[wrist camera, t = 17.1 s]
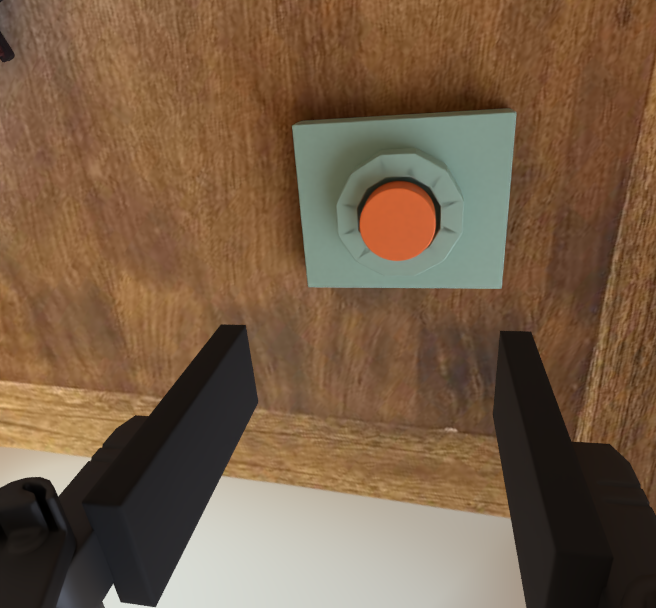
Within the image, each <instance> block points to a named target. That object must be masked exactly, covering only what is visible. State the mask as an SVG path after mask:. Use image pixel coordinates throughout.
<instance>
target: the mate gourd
mask: <svg viewBox="0 0 656 608" xmlns="http://www.w3.org/2000/svg"><path fill="white" fill-rule="evenodd" d="M1 1H2V0H0V2H1ZM14 56H15V55H14V53H13V51H12V50H11V48H10V46H9V45H8V43H7V41H6V40H5V38H4V37H3V35H2V34H1V32H0V59H1V61H2V62H6V61H10V60H11V59H13V58H14Z"/></svg>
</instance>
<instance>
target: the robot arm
mask: <svg viewBox="0 0 656 608" xmlns="http://www.w3.org/2000/svg"><path fill="white" fill-rule="evenodd" d="M257 404H258V397H257V391H256V385H255V379H254V373H253V367H252V361H251V355H250V348H249V342H248V336H247V330H246V325H220V326H219V328H218V329H217V330H216V332H215V333H214V334H213V335H212V337H211V338H210V339H209V340H208V342H207V343H206V344H205V345H204V347H203V348H202V349H201V351H200V352H199V353H198V354H197V356H196V357H195V358H194V359H193V361H192V362H191V363H190V365H189V366H188V367H187V368H186V370H185V371H184V372H183V373H182V375H181V376H180V377H179V379H178V380H177V381H176V382H175V384H174V385H173V386H172V387H171V389H170V390H169V391H168V393H167V394H166V395H165V396H164V398H163V399H162V400H161V401H160V403H159V404H158V405H157V407H156V408H155V409H154V410H153V412H152V413H151V414H150V415H149V416H136V415H135V416H134V417H132V418H131V419H129V420H128V421H127V422H125V423H124V424H122V425H121V426H119V427H118V428H116V429H115V431H114V432H113V433H112V434H111V435H110V436H109V438H108V439H107V440H106V441H105V442H104V444H103V447H102V448H99V449H98V451H97V452H96V453H95V454H94V455H93V456H92V459H91V461H88V462H87V464H86V465H85V466H84V467H83V468H82V469H81V471H80V472H79V473H78V474H77V476H75V478H74V479H73V480H72V481H71V482H70V484H69V485H68V486H67V487H66V488H65V489H64V491H63V492H62V493H61V494H60V495H59V497H58V495H57V493H56V490H55V488H54V486H53V485H52V483H51V482H50V480H47V479H44V478H41V477H31V478H24V479H20V480H17V481H13V482H11V483H9V484H7V485H5V486H3V487H1V488H0V608H105V607H104V605H103V602H102V601H103V599H104V598H105V596H106V594H107V593H108V591H109V589H110V588H111V586H112V585H113V584H114V586H115V589H116V591H117V594H118V596H119V599H120V601H121V602H123V603H130V604H138V605H144V606H151V607H156V605H157V603H158V601H159V599H160V597H161V595H162V593H163V591H164V589H165V587H166V585H167V583H168V581H169V579H170V577H171V575H172V573H173V571H174V569H175V568H176V565H177V564H178V561H179V559H180V558H181V555H182V554H183V551H184V549H185V548H186V545H187V544H188V541H189V540H190V538H191V536H192V533H193V531H194V530H195V528H196V526H197V524H198V522H199V519H200V517H201V516H202V514H203V511H204V510H205V508H206V505H207V503H208V502H209V499H210V497H211V496H212V494H213V492H214V490H215V487H216V486H217V484H218V482H219V479H220V478H221V476H222V474H223V472H224V470H225V468H226V466H227V464H228V462H229V460H230V458H231V456H232V454H233V452H234V450H235V448H236V446H237V444H238V442H239V440H240V438H241V436H242V434H243V432H244V430H245V428H246V426H247V424H248V422H249V420H250V418H251V416H252V414H253V412H254V410H255V408H256V406H257ZM493 418H494V424H495V430H496V436H497V441H498V447H499V453H500V459H501V464H502V470H503V476H504V482H505V487H506V493H507V499H508V504H509V510H510V516H511V521H512V527H513V533H514V539H515V545H516V550H517V555H518V562H519V568H520V573H521V579H522V584H523V590H524V596H525V602H526V607H527V608H656V515H655V513H654V511H653V509H652V507H650V506H649V501H648V499H647V497H646V495H645V493H644V491H643V489H641V487H640V483H639V481H638V479H637V477H636V475H635V472H634V470H633V468H632V466H631V464H630V463H629V462H628V461H627V460H626V459H625V458H624V457H623V456H622V455H621V454H620V453H619V452H618V451H617V450H615V449H614V448H613V447H612V446H611V445H610V444H601V443H585V442H571V439H570V437H569V434H568V431H567V429H566V426H565V423H564V420H563V418H562V415H561V412H560V409H559V407H558V404H557V401H556V399H555V396H554V393H553V390H552V388H551V385H550V382H549V379H548V377H547V374H546V371H545V369H544V366H543V363H542V360H541V358H540V355H539V352H538V349H537V347H536V344H535V341H534V339H533V336H532V333H531V332H523V331H500V339H499V350H498V362H497V373H496V385H495V396H494V408H493Z"/></svg>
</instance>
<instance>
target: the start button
mask: <svg viewBox="0 0 656 608" xmlns="http://www.w3.org/2000/svg"><path fill="white" fill-rule="evenodd" d="M359 227H360V233H361V236H362V239H363V241H364V243H365V244H366V246H367V247H368V248H369V249H370V250H371V251H372V252H373V253H374V254H376V255H377V256H379V257H381V258H384V259H387V260H391V261H403V260H408V259H411V258H414V257H416V256H417V255H419V254H421V253H422V252H423V251H424V250H425V249H426V248H427V247H428V246H429V244H430V243H431V241H432V239H433V237H434V234H435V229H436V215H435V207H434V204H433V202H432V200H431V198H430V196H429V195H428V194H427V193H426V191H425V190H423V189H422V188H421V187H419V186H418V185H416V184H414V183H411V182H407V181H392V182H388V183H386V184H383V185H381V186H380V187H378V188H377V189H376V190H374V191H373V192H372V194H371V195H370V196H369V198H368V199H367V201H366V203H365V206H364V208H363V210H362V212H361V216H360V221H359Z"/></svg>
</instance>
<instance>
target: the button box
mask: <svg viewBox="0 0 656 608" xmlns="http://www.w3.org/2000/svg"><path fill="white" fill-rule="evenodd" d="M515 124H516V112H515V111H514V110H512V109H510V108H503V109H487V110H470V111H454V112H437V113H421V114H404V115H388V116H371V117H355V118H338V119H322V120H305V121H300V122H298V123H296V124H294V125H292V132H293V142H294V152H295V162H296V172H297V182H298V192H299V202H300V212H301V222H302V232H303V242H304V252H305V262H306V272H307V283H308V287H357V288H495V289H501V288H502V278H503V266H504V254H505V242H506V230H507V218H508V207H509V195H510V183H511V171H512V159H513V147H514V136H515ZM392 181H407V182H411V183H414V184H416V185H418V186H419V187H421V188H422V189H423V190H425V191H426V193H427V194H428V195H429V196H430V198H431V200H432V202H433V204H434V207H435V215H436V229H435V234H434V237H433V239H432V241H431V243H430V244H429V246H428V247H427V248H426V249H425V250H424V251H423V252H422V253H421V254H419V255H417V256H416V257H414V258H411V259H408V260H403V261H391V260H387V259H384V258H381V257H379V256H377V255H376V254H374V253H373V252H372V251H371V250H370V249H369V248H368V247H367V246H366V244H365V243H364V241H363V239H362V236H361V233H360V227H359V221H360V216H361V212H362V210H363V208H364V206H365V203H366V201H367V199H368V198H369V196H370V195H371V194H372V192H373V191H374V190H376V189H377V188H378V187H380V186H381V185H383V184H386V183H388V182H392Z"/></svg>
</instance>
